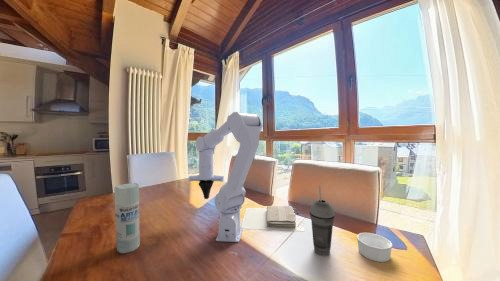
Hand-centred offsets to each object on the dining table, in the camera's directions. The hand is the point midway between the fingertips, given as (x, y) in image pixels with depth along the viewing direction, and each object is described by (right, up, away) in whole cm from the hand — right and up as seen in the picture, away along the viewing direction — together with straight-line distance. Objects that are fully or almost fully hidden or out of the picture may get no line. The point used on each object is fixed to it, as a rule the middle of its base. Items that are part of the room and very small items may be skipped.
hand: (206, 198), depth 81 cm
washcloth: (+31, -9, +1) cm, 32 cm away
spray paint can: (-21, -10, -19) cm, 30 cm away
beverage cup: (+40, -10, -22) cm, 47 cm away
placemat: (+27, -9, +2) cm, 29 cm away
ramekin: (+55, -10, -23) cm, 61 cm away
